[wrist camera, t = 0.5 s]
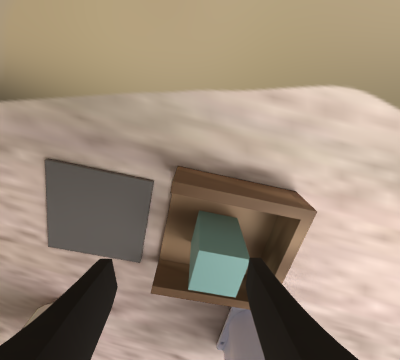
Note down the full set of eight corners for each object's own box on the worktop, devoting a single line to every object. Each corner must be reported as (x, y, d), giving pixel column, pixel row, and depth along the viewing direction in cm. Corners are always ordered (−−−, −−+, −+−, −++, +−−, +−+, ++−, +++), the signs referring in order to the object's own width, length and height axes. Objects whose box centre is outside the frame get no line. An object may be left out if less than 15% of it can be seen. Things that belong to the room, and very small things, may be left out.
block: (226, 249, 23) (235, 297, 17) (191, 242, 23) (188, 289, 17) (237, 218, 21) (250, 259, 16) (199, 210, 21) (198, 250, 16)
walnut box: (257, 281, 25) (267, 312, 21) (158, 263, 24) (150, 293, 20) (296, 191, 21) (317, 211, 17) (177, 166, 20) (172, 181, 16)
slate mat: (141, 260, 24) (140, 262, 24) (50, 244, 23) (48, 246, 23) (153, 180, 20) (152, 182, 20) (48, 158, 20) (45, 159, 19)
